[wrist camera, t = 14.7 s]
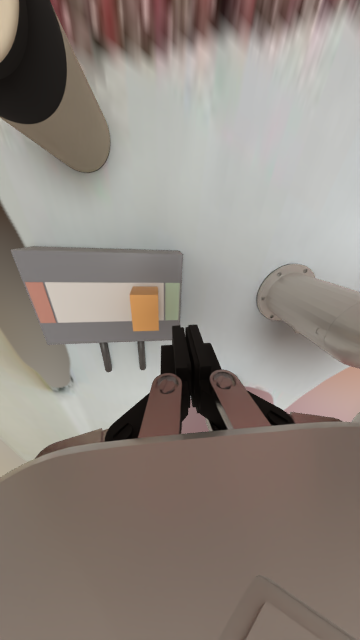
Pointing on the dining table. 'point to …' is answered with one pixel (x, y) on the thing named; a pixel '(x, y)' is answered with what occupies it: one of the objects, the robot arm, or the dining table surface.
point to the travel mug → (48, 87)
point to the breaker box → (99, 293)
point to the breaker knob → (144, 308)
